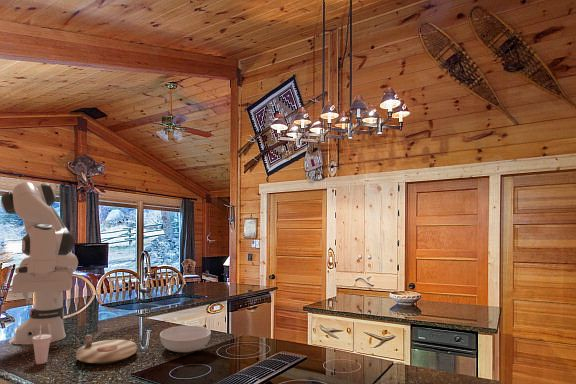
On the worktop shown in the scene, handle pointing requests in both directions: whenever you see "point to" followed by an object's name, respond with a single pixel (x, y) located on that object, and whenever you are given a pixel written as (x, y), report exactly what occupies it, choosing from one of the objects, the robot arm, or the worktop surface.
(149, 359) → the worktop surface
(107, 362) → the turntable base
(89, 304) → the worktop surface
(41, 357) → the smoothie
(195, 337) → the serving bowl
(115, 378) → the worktop surface
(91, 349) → the round wooden board
